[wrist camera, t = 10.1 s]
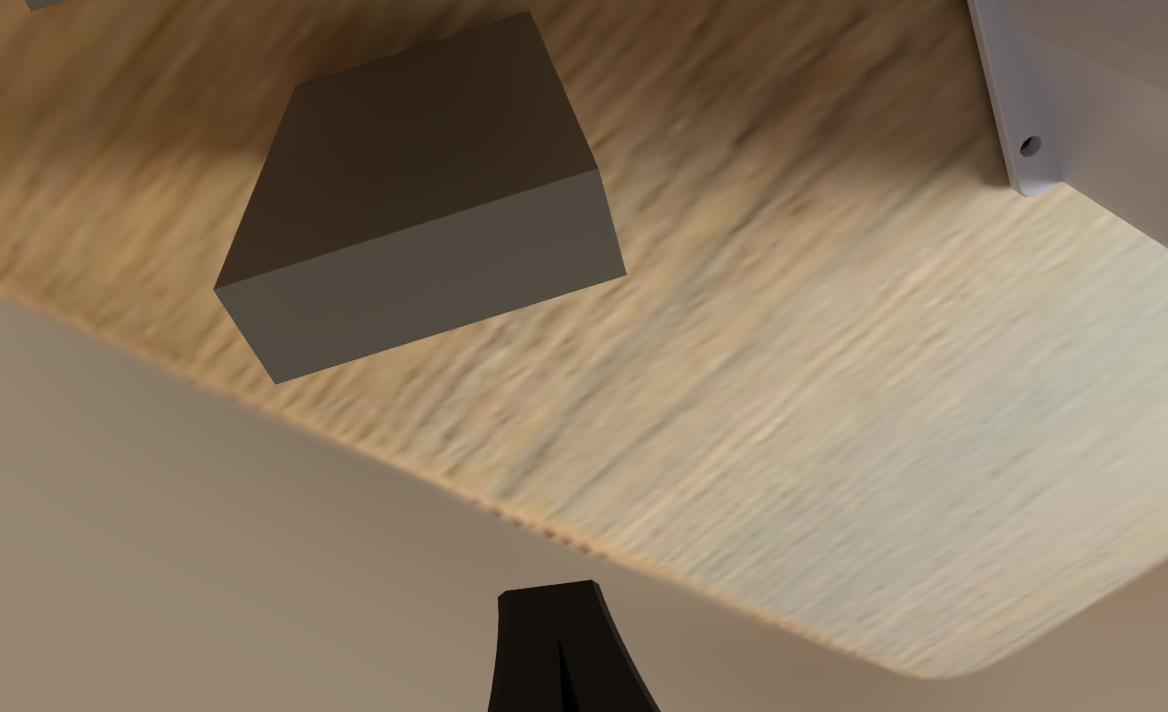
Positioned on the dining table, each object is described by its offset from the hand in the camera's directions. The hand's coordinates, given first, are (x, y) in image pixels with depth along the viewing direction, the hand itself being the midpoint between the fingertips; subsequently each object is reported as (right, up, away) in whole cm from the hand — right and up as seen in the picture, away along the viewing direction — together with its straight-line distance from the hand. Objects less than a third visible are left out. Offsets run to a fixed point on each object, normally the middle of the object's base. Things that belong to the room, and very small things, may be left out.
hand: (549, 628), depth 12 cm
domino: (-3, +10, +5) cm, 11 cm away
